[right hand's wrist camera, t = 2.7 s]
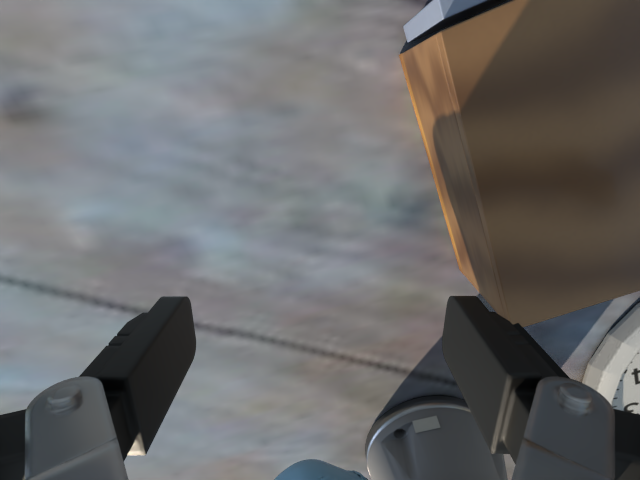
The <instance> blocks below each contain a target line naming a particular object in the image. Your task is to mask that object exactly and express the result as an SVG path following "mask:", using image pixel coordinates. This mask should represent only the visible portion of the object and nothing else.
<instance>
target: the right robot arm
mask: <svg viewBox="0 0 640 480" xmlns="http://www.w3.org/2000/svg"><path fill="white" fill-rule="evenodd" d="M442 349H443V354H444V358H445V360H446V362H447V364H448V367H449V369H450V371H451V373H452V375H453V377H454V379H455V381H456V383H457V385H458V387H459V389H460V391H461V393H462V395H463V397H464V399H465V401H466V403H467V405H468V407H469V409H470V411H471V413H472V415H473V417H474V419H475V421H476V423H477V425H478V427H479V429H480V431H481V433H482V435H483V437H484V439H485V441H486V443H487V446H488V448H489V450H490V452H491V454H510V455H511V457H512V459H513V461H514V462H515V464H516V465H515V469H514V473H513V476H512V480H640V414H635V413H631V412H626V411H622V410H617V409H613V407H612V406H611V404H610V403H609V401H608V400H607V399H606V398H605V397H604V396H602V395H601V394H600V393H599V392H597V391H596V390H594V389H593V388H591V387H589V386H587V385H585V384H583V383H581V382H578V381H576V380H573V379H569V378H565V377H559V376H558V375H557V374H556V373H555V372H554V371H553V370H552V368H551V367H550V366H549V365H548V364H547V363H546V362H545V361H544V359H543V358H542V357H541V356H540V355H539V354H538V353H537V351H536V350H535V349H534V348H533V347H532V346H531V345H529V342H528V341H527V340H526V339H525V338H524V337H523V336H522V335H520V332H519V331H518V330H517V329H516V328H515V327H514V325H513V324H512V323H511V322H510V321H508V320H507V319H505V318H504V317H502V316H500V315H499V314H497V313H496V312H489V311H488V309H487V308H486V307H485V306H484V304H483V303H482V302H481V301H480V300H479V298H478V297H476V296H450V297H449V299H448V302H447V308H446V315H445V323H444V330H443V337H442ZM195 351H196V337H195V330H194V323H193V316H192V309H191V302H190V300H189V298H188V297H161V298H160V299H159V300H158V301H157V302H156V304H155V305H154V306H153V307H152V308H151V310H150V311H149V312H148V313H142V314H140V315H139V316H137V317H135V318H134V319H132V320H130V321H129V322H127V323H126V325H125V326H124V327H123V328H122V329H121V330H120V331H119V332H118V334H117V336H115V337H114V338H113V339H112V340H111V341H110V343H109V345H108V346H106V347H105V348H104V349H103V350H102V351H101V353H100V354H99V355H98V356H97V357H96V358H95V359H94V360H93V362H92V363H91V364H90V365H89V366H88V367H87V368H86V369H85V371H84V372H83V373H82V374H81V375H80V376H79V377H75V378H71V379H67V380H64V381H62V382H59V383H57V384H55V385H53V386H51V387H49V388H47V389H46V390H44V391H43V392H41V393H40V394H39V395H38V396H36V397H35V398H34V399H33V400H32V401H31V403H30V404H29V406H28V407H27V409H25V410H21V411H16V412H12V413H8V414H3V415H0V480H128V476H127V473H126V469H125V465H124V460H125V458H126V457H127V455H146V453H147V451H148V449H149V447H150V445H151V443H152V441H153V439H154V437H155V435H156V433H157V431H158V429H159V427H160V425H161V423H162V421H163V419H164V417H165V415H166V413H167V411H168V409H169V407H170V405H171V403H172V401H173V399H174V397H175V395H176V393H177V391H178V389H179V387H180V385H181V383H182V381H183V379H184V377H185V375H186V373H187V371H188V369H189V367H190V365H191V363H192V361H193V359H194V356H195Z"/></svg>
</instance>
